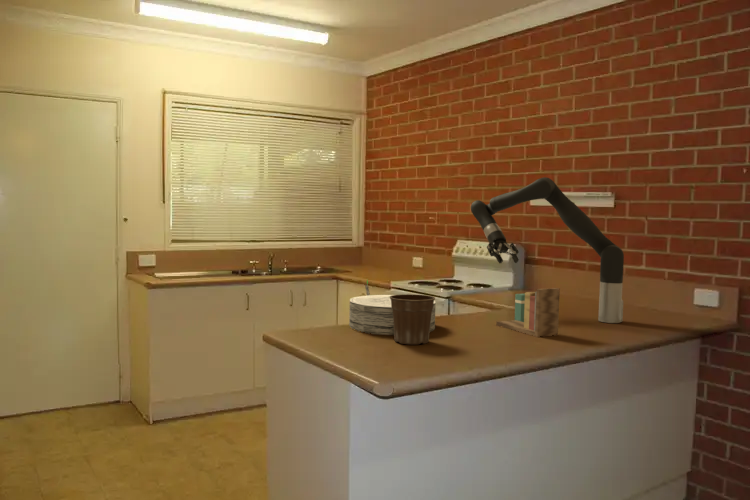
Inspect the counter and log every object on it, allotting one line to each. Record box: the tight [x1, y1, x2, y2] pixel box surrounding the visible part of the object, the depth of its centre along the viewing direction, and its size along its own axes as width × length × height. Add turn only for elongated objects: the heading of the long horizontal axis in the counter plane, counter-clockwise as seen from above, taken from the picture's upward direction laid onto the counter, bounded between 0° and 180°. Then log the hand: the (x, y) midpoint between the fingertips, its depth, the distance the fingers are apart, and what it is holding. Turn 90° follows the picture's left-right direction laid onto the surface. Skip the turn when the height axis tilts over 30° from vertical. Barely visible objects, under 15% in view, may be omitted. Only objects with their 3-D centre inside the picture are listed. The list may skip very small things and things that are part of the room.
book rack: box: [496, 287, 561, 338], centre depth 247 cm, size 10×26×18 cm, turn 26°
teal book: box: [514, 293, 525, 322], centre depth 265 cm, size 5×4×12 cm
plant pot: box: [390, 293, 436, 346], centre depth 221 cm, size 16×16×16 cm
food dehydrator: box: [348, 278, 436, 336], centre depth 250 cm, size 38×34×18 cm
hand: (509, 262), depth 276 cm, fingers open, 8 cm apart
